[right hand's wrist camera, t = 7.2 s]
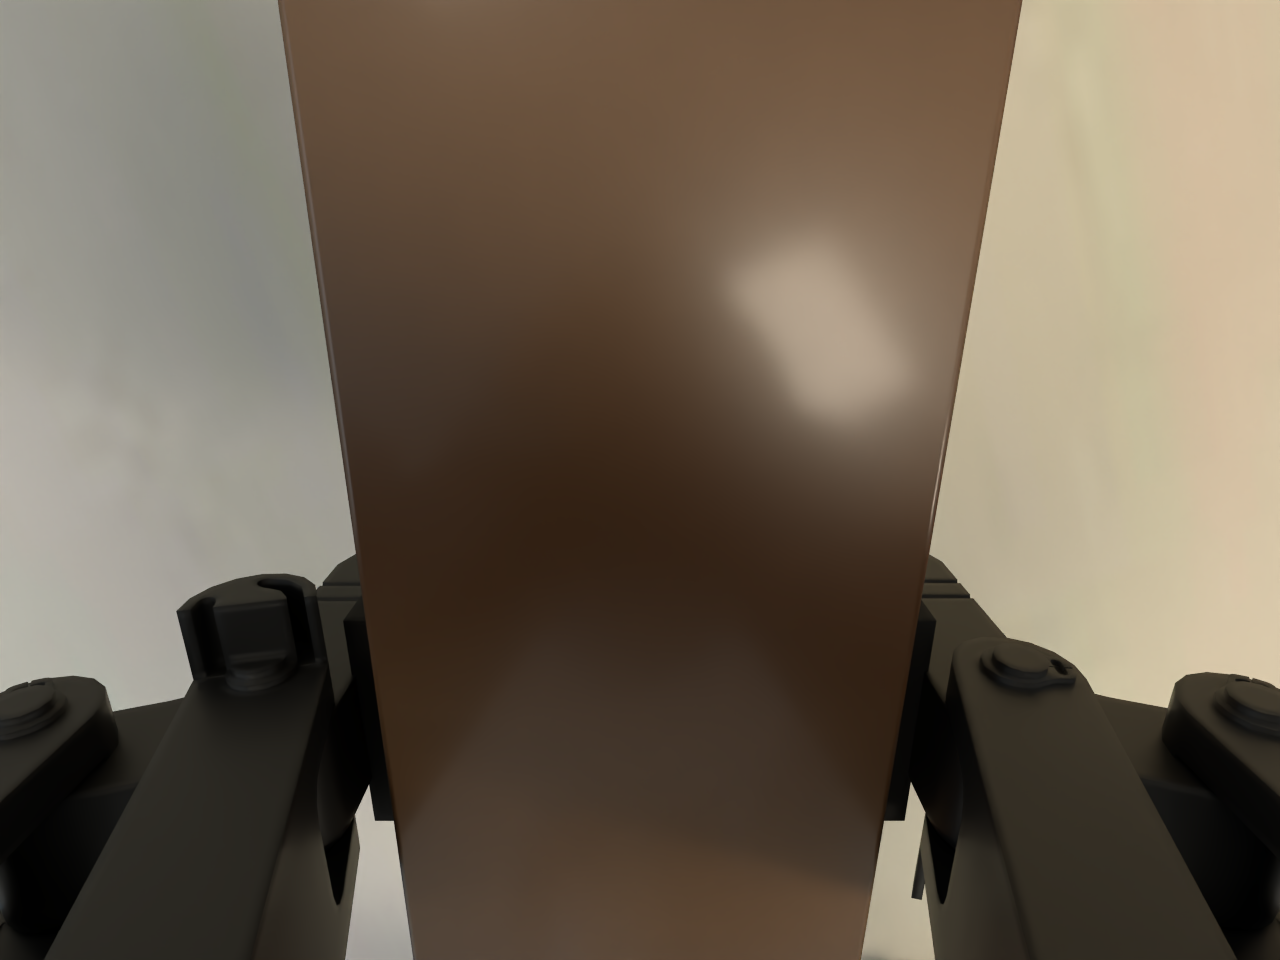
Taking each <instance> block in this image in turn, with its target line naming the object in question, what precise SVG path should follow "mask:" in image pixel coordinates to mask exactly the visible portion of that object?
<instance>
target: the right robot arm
mask: <svg viewBox="0 0 1280 960" xmlns="http://www.w3.org/2000/svg"><path fill="white" fill-rule="evenodd" d="M176 612H177V616H178V620H179V624H180V628H181V632H182V636H183V640H184V644H185V648H186V652H187V656H188V660H189V664H190V668H191V672H192V676H193V682H192V684H191V686H190V688H189V690H188V692H187V693H186V695H185V697H184V698H180V699H176V700H172V701H167V702H162V703H156V704H151V705H146V706H140V707H135V708H130V709H125V710H119V711H114V712H113V711H112V708H111V705H110V701H109V698H108V695H107V691H106V688H105V686H103V685H102V684H101V683H99V682H98V681H97V680H95V679H94V678H86V677H79V676H67V677H57V678H43V679H38V680H33V681H31V683H28V682H25V683H22V684H19V685H15V686H12V687H10V688H8V689H7V690H6V691H4V692H2V693H0V960H345V955H346V948H347V941H348V933H349V926H350V918H351V911H352V904H353V896H354V889H355V881H356V874H357V867H358V859H359V852H360V844H359V837H358V830H357V825H356V819H355V813H356V811H357V809H358V807H359V805H360V802H361V800H362V798H363V796H364V794H365V792H366V790H367V788H368V785H369V786H370V792H371V799H372V805H373V811H374V817H375V821H394V818H393V811H392V804H391V797H390V790H389V783H388V776H387V768H386V761H385V754H384V747H383V740H382V733H381V726H380V719H379V712H378V705H377V698H376V691H375V684H374V677H373V670H372V663H371V655H370V648H369V641H368V634H367V627H366V620H365V613H364V606H363V599H362V592H361V585H360V578H359V571H358V564H357V557H356V554H355V555H353V556H352V557H350V558H348V559H347V560H345V561H343V562H341V563H340V564H338V565H337V566H336V567H335V569H334V570H333V571H332V572H331V573H330V575H329V576H328V577H327V578H326V579H325V580H324V582H323V586H319V588H318V589H317V590H316V587H315V585H314V584H313V583H312V582H310V581H309V580H307V579H306V578H305V577H300V576H295V575H290V574H261V575H255V576H249V577H244V578H238V579H234V580H231V581H228V582H225V583H222V584H219V585H216V586H213V587H211V588H209V589H207V590H205V591H203V592H201V593H199V594H197V595H195V596H194V597H192V598H190V599H189V600H188V601H187V602H186V603H185V604H183V605H182V606H181V607H180V608H179V609H178V610H177V611H176ZM910 783H912V785H913V787H914V789H915V791H916V793H917V795H918V797H919V799H920V802H921V804H922V806H923V808H924V810H925V812H926V813H925V819H924V825H923V830H922V836H921V842H920V848H919V854H918V859H917V865H916V871H915V877H914V883H913V890H912V897H911V898H915V899H920V900H922V895H923V890H924V884H925V887H926V894H927V902H928V909H929V917H930V924H931V931H932V939H933V946H934V954H935V960H1280V689H1278V688H1276V687H1275V686H1273V685H1272V684H1270V683H1267V682H1264V681H1261V680H1258V679H1254V678H1253V679H1252V680H1251V679H1249V677H1246V676H1241V675H1236V674H1230V675H1229V674H1220V673H1210V672H1205V673H1197V674H1190V675H1186V676H1184V677H1183V678H1182V679H1180V680H1179V681H1178V682H1176V683H1175V686H1174V689H1173V692H1172V696H1171V699H1170V702H1169V706H1168V708H1163V707H1158V706H1153V705H1147V704H1142V703H1136V702H1131V701H1126V700H1120V699H1115V698H1110V697H1105V696H1101V695H1097V694H1094V692H1093V690H1092V688H1091V687H1090V685H1089V683H1088V681H1087V679H1086V678H1085V677H1084V676H1083V675H1082V673H1081V672H1080V671H1079V670H1078V669H1077V668H1076V667H1075V665H1073V664H1072V663H1070V662H1069V661H1067V660H1066V659H1064V658H1062V657H1061V656H1059V655H1058V654H1056V653H1055V652H1052V651H1050V650H1047V649H1045V648H1042V647H1040V646H1037V645H1034V644H1032V643H1029V642H1024V641H1019V640H1015V639H1010V638H1006V636H1005V635H1004V634H1003V633H1002V632H1001V630H1000V629H999V628H998V627H997V626H996V625H995V623H994V622H993V621H992V620H991V619H990V618H989V616H988V615H987V614H986V613H985V612H984V611H983V609H982V608H981V607H980V606H979V605H978V604H977V602H976V601H975V600H974V599H973V598H970V594H969V593H968V592H967V591H966V589H965V588H964V587H963V586H962V585H961V584H960V583H957V579H956V578H955V577H954V575H953V574H952V573H951V572H950V571H949V570H948V568H947V567H946V566H945V565H944V564H943V563H942V562H941V561H940V560H938V559H936V558H934V557H933V556H931V555H929V557H928V563H927V569H926V575H925V580H924V586H923V592H922V598H921V604H920V610H919V616H918V622H917V628H916V634H915V640H914V646H913V652H912V658H911V663H910V669H909V675H908V681H907V687H906V693H905V699H904V705H903V711H902V717H901V723H900V729H899V735H898V741H897V746H896V752H895V758H894V764H893V770H892V776H891V782H890V788H889V794H888V800H887V806H886V812H885V818H884V821H905V814H906V808H907V802H908V796H909V789H910Z"/></svg>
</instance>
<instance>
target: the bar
mask: <svg viewBox="0 0 1280 960" xmlns="http://www.w3.org/2000/svg"><path fill="white" fill-rule="evenodd" d="M1021 5H1022V0H278V6H279V13H280V20H281V27H282V34H283V41H284V48H285V55H286V62H287V69H288V76H289V83H290V90H291V98H292V105H293V112H294V119H295V126H296V133H297V140H298V147H299V154H300V161H301V168H302V175H303V182H304V189H305V196H306V203H307V211H308V218H309V225H310V232H311V239H312V246H313V253H314V260H315V267H316V274H317V281H318V288H319V295H320V302H321V309H322V316H323V324H324V331H325V338H326V345H327V352H328V359H329V366H330V373H331V380H332V387H333V394H334V401H335V408H336V415H337V422H338V429H339V437H340V444H341V451H342V458H343V465H344V472H345V479H346V486H347V493H348V500H349V507H350V514H351V521H352V528H353V535H354V542H355V550H356V557H357V564H358V571H359V578H360V585H361V592H362V599H363V606H364V613H365V620H366V627H367V634H368V641H369V648H370V655H371V663H372V670H373V677H374V684H375V691H376V698H377V705H378V712H379V719H380V726H381V733H382V740H383V747H384V754H385V761H386V768H387V776H388V783H389V790H390V797H391V804H392V811H393V818H394V825H395V832H396V839H397V846H398V853H399V860H400V867H401V874H402V881H403V889H404V896H405V903H406V910H407V917H408V924H409V931H410V938H411V945H412V952H413V959H414V960H861V954H862V948H863V942H864V936H865V930H866V924H867V918H868V913H869V907H870V901H871V895H872V889H873V883H874V877H875V871H876V865H877V859H878V853H879V847H880V841H881V835H882V829H883V824H884V818H885V812H886V806H887V800H888V794H889V788H890V782H891V776H892V770H893V764H894V758H895V752H896V746H897V741H898V735H899V729H900V723H901V717H902V711H903V705H904V699H905V693H906V687H907V681H908V675H909V669H910V663H911V658H912V652H913V646H914V640H915V634H916V628H917V622H918V616H919V610H920V604H921V598H922V592H923V586H924V580H925V575H926V569H927V563H928V557H929V551H930V545H931V539H932V533H933V527H934V521H935V515H936V509H937V503H938V497H939V492H940V486H941V480H942V474H943V468H944V462H945V456H946V450H947V444H948V438H949V432H950V426H951V420H952V414H953V409H954V403H955V397H956V391H957V385H958V379H959V373H960V367H961V361H962V355H963V349H964V343H965V337H966V331H967V326H968V320H969V314H970V308H971V302H972V296H973V290H974V284H975V278H976V272H977V266H978V260H979V254H980V248H981V242H982V237H983V231H984V225H985V219H986V213H987V207H988V201H989V195H990V189H991V183H992V177H993V171H994V165H995V159H996V154H997V148H998V142H999V136H1000V130H1001V124H1002V118H1003V112H1004V106H1005V100H1006V94H1007V88H1008V82H1009V76H1010V71H1011V65H1012V59H1013V53H1014V47H1015V41H1016V35H1017V29H1018V23H1019V17H1020V11H1021Z"/></svg>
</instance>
